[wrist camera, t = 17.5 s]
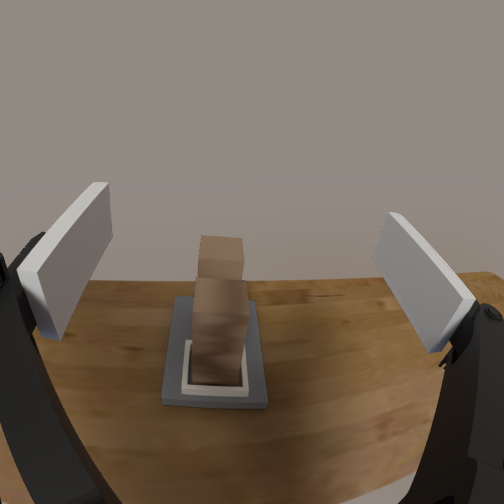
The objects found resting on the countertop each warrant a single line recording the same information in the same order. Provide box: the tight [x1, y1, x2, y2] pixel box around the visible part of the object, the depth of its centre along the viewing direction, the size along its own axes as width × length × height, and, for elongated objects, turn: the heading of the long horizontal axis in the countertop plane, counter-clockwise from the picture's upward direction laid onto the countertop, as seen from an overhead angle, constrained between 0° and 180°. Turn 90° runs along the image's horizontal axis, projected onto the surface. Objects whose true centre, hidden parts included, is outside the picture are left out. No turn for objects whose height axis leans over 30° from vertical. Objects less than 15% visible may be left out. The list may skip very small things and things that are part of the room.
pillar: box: [192, 277, 250, 387], centre depth 32 cm, size 5×5×12 cm
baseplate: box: [161, 235, 268, 409], centre depth 36 cm, size 12×18×14 cm, turn 4°
